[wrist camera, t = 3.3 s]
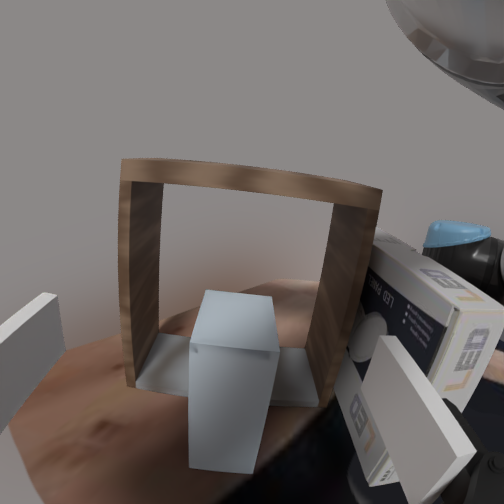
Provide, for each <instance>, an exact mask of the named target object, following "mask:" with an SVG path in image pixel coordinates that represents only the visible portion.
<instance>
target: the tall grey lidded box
mask: <svg viewBox="0 0 504 504" xmlns="http://www.w3.org/2000/svg"><path fill="white" fill-rule="evenodd" d="M279 355H280V348H279V341H278V334H277V328H276V321H275V315H274V308H273V302H272V297H271V296H261V295H251V294H242V293H233V292H224V291H216V290H207V289H206V291H205V294H204V298H203V301H202V304H201V307H200V310H199V313H198V317H197V320H196V323H195V326H194V330H193V333H192V336H191V339H190V347H189V395H188V436H189V468H195V469H202V470H210V471H220V472H230V473H244V474H253V471H254V467H255V463H256V458H257V454H258V450H259V446H260V442H261V438H262V433H263V429H264V425H265V420H266V416H267V411H268V407H269V402H270V398H271V393H272V389H273V384H274V379H275V374H276V370H277V365H278V360H279Z"/></svg>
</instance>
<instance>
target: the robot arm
mask: <svg viewBox="0 0 504 504" xmlns="http://www.w3.org/2000/svg"><path fill="white" fill-rule="evenodd" d="M386 3H387V6H388V8H389V10H390V12H391V15H392V16H393V18H394V20H395V21H396V23H397V25H398V26H399V28H400V29H401V30H402V31H403V33H404V34H405V35H406V36H407V38H408V39H409V40H410V41H411V42H412V43H413V44H414V45H415V47H416V48H417V49H418V50H419V51H420V52H421V53H422V54H423V55H424V56H425V57H426V58H427V59H429V60H430V61H431V62H432V63H433V64H435V65H436V66H437V67H438V68H439V69H440V70H442V71H443V72H444V73H445V74H447V75H448V76H450V77H451V78H453V79H454V80H456V81H457V82H459V83H460V84H461V85H463V86H465V87H466V88H468V89H470V90H471V91H473V92H474V93H476V94H478V95H480V96H481V97H483V98H485V99H486V100H487V101H489V102H490V103H492V104H494V105H496V106H498V107H500V108H502V109H503V110H504V0H386ZM490 236H491V230H490V228H489V227H486V226H481V225H477V224H472V223H465V222H457V221H448V220H438V221H435V222H433V223H432V224H431V225H430V226H429V229H428V233H427V237H426V240H425V243H424V244H423V247H424V249H423V253H422V255H423V256H426V257H429V258H431V259H433V260H434V261H436V262H437V263H439V264H441V265H442V266H444V267H445V268H447V269H449V270H450V271H452V272H453V273H455V274H456V275H458V276H459V277H461V278H463V279H464V280H466V281H467V282H469V283H470V284H472V285H473V286H475V287H476V288H478V289H479V290H481V291H482V292H484V293H485V294H487V295H488V296H490V297H491V298H492V299H494V300H495V301H497V302H498V303H500V304H501V305H503V306H504V241H503V240H500V239H496V238H493V237H490ZM65 351H66V349H65V344H64V337H63V332H62V325H61V318H60V312H59V303H58V295H54V294H50V293H46V292H43V293H42V294H40V295H39V296H38V297H36V298H35V299H34V300H32V301H31V302H30V303H28V304H27V305H26V306H25V307H23V308H22V309H21V310H19V311H18V312H17V313H16V314H14V315H13V316H12V317H11V318H9V319H8V320H7V321H5V322H4V323H3V324H2V325H1V326H0V434H1V433H2V431H3V430H4V429H5V427H6V426H7V425H8V423H9V422H10V420H11V419H12V418H13V416H14V415H15V414H16V412H17V411H18V410H19V409H20V407H21V406H22V405H23V403H24V402H25V401H26V399H27V398H28V397H29V396H30V394H31V393H32V392H33V390H34V389H35V388H36V387H37V385H38V384H39V383H40V382H41V380H42V379H43V378H44V377H45V375H46V374H47V373H48V372H49V370H50V369H51V368H52V367H53V366H54V364H55V363H56V362H57V361H58V360H59V358H60V357H61V356H62V355H63V354H64V352H65ZM361 391H362V393H363V395H364V397H365V400H366V402H367V404H368V406H369V409H370V411H371V413H372V416H373V418H374V420H375V423H376V425H377V427H378V429H379V432H380V434H381V437H382V439H383V441H384V444H385V446H386V448H387V451H388V453H389V456H390V458H391V460H392V463H393V465H394V468H395V470H396V473H397V475H398V477H399V480H400V482H401V485H402V487H403V490H404V492H405V495H406V497H407V500H408V503H409V504H432V503H433V502H434V501H435V500H436V499H437V498H438V497H439V496H440V495H441V497H442V499H443V502H442V503H441V504H504V454H502V453H499V452H494V451H492V452H488V451H487V450H486V448H485V447H484V445H483V444H482V442H481V441H480V439H479V438H478V436H477V435H476V433H475V432H474V430H473V429H472V427H471V426H470V425H468V422H467V420H466V419H465V418H463V415H462V413H461V412H460V410H459V409H458V408H457V406H456V405H454V404H453V403H452V402H451V401H449V400H448V399H447V398H442V399H441V397H440V396H439V394H438V393H437V392H436V390H435V389H434V387H433V386H432V385H431V383H430V382H429V380H428V379H427V378H426V376H425V375H424V373H423V372H422V371H421V369H420V368H419V367H418V365H417V364H416V362H415V361H414V360H413V358H412V357H411V356H410V354H409V353H408V352H407V350H406V349H405V348H404V346H403V345H402V344H401V342H400V341H399V340H398V338H397V337H396V336H384V335H379V338H378V341H377V344H376V347H375V350H374V353H373V356H372V359H371V362H370V364H369V367H368V370H367V372H366V375H365V378H364V380H363V383H362V385H361Z"/></svg>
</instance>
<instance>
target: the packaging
mask: <svg viewBox="0 0 504 504" xmlns="http://www.w3.org/2000/svg"><path fill="white" fill-rule="evenodd" d="M503 328H504V306H503V305H501V304H500V303H498V302H497V301H495V300H494V299H492V298H491V297H490V296H488V295H487V294H485V293H484V292H482V291H481V290H479V289H478V288H476V287H475V286H473V285H472V284H470V283H469V282H467V281H466V280H464V279H463V278H461V277H459V276H458V275H456V274H455V273H453V272H452V271H450V270H449V269H447V268H445V267H444V266H442V265H441V264H439V263H437V262H436V261H434V260H433V259H431V258H429V257H426V256H423V255H421V254H420V253H418V252H416V249H414V248H413V247H411V246H409V245H408V244H406V243H404V242H402V241H401V240H399V239H397V238H395V237H394V236H392V235H390V234H389V233H387V232H385V231H383V230H382V229H380V228H378V227H376V230H375V235H374V240H373V245H372V250H371V254H370V259H369V263H368V268H367V272H366V276H365V281H364V285H363V289H362V293H361V297H360V301H359V304H358V308H357V312H356V316H355V319H354V323H353V326H352V330H351V333H350V337H349V340H348V344H347V347H346V350H345V354H344V357H343V360H342V363H341V366H340V369H339V372H338V375H337V378H336V381H335V384H334V387H333V388H334V391H335V394H336V397H337V399H338V402H339V405H340V407H341V410H342V413H343V416H344V419H345V421H346V424H347V427H348V430H349V432H350V435H351V438H352V441H353V444H354V447H355V449H356V452H357V455H358V458H359V461H360V464H361V467H362V469H363V472H364V475H365V478H366V480H367V482H368V483H369V486H370V487H371V486H377V485H383V484H388V483H393V482H398V481H400V480H399V477H398V475H397V473H396V470H395V468H394V465H393V463H392V460H391V458H390V456H389V453H388V451H387V448H386V446H385V444H384V441H383V439H382V437H381V434H380V432H379V429H378V427H377V425H376V423H375V420H374V418H373V416H372V413H371V411H370V409H369V406H368V404H367V402H366V400H365V397H364V395H363V393H362V391H361V385H362V383H363V380H364V378H365V375H366V372H367V370H368V367H369V364H370V362H371V359H372V356H373V353H374V350H375V347H376V344H377V341H378V338H379V335H384V336H396V337H397V338H398V340H399V341H400V342H401V344H402V345H403V346H404V348H405V349H406V350H407V352H408V353H409V354H410V356H411V357H412V358H413V360H414V361H415V362H416V364H417V365H418V367H419V368H420V369H421V371H422V372H423V373H424V375H425V376H426V378H427V379H428V380H429V382H430V383H431V385H432V386H433V387H434V389H435V390H436V392H437V393H438V394H439V396H440V397H441V399H442V398H447V399H448V400H449V401H451V402H452V403H453V404H454V405H456V406H457V408H458V409H459V410H460V412H461V413H462V411H463V410H464V408H465V406H466V404H467V403H468V401H469V399H470V397H471V396H472V394H473V392H474V390H475V388H476V386H477V385H478V383H479V381H480V379H481V377H482V375H483V373H484V371H485V369H486V367H487V365H488V363H489V360H490V358H491V356H492V354H493V352H494V350H495V347H496V345H497V343H498V340H499V338H500V335H501V333H502V331H503Z"/></svg>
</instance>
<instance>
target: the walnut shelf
mask: <svg viewBox="0 0 504 504" xmlns="http://www.w3.org/2000/svg"><path fill="white" fill-rule="evenodd" d="M164 183H168V184H180V185H190V186H202V187H211V188H221V189H231V190H239V191H248V192H256V193H265V194H273V195H280V196H288V197H296V198H302V199H309V200H316V201H323V202H330V203H334V207H333V213H332V219H331V225H330V231H329V236H328V242H327V247H326V252H325V258H324V263H323V268H322V274H321V278H320V283H319V288H318V293H317V298H316V302H315V307H314V312H313V316H312V321H311V325H310V329H309V334H308V338H307V342H306V346H305V348H289V347H279V348H280V355H279V360H278V365H277V370H276V374H275V379H274V384H273V389H272V393H271V398H270V402H269V405H270V406H292V407H327V404H328V402H329V399H330V396H331V393H332V390H333V387H334V384H335V381H336V378H337V375H338V372H339V369H340V366H341V363H342V360H343V357H344V354H345V350H346V347H347V344H348V340H349V337H350V333H351V330H352V326H353V323H354V319H355V316H356V312H357V308H358V304H359V301H360V297H361V293H362V289H363V285H364V281H365V276H366V272H367V268H368V263H369V259H370V254H371V250H372V245H373V240H374V235H375V230H376V225H377V220H378V214H379V209H380V203H381V197H382V191H383V190H381V189H377V188H373V187H370V186H366V185H362V184H358V183H354V182H350V181H346V180H341V179H335V178H328V177H323V176H317V175H310V174H304V173H297V172H290V171H282V170H276V169H268V168H260V167H251V166H243V165H234V164H223V163H213V162H202V161H191V160H178V159H163V158H138V159H137V158H136V159H122V161H121V175H120V191H119V214H118V282H119V303H120V304H119V305H120V322H121V335H122V346H123V356H124V365H125V374H126V382H127V386H129V387H134V388H139V389H144V390H149V391H154V392H160V393H165V394H171V395H178V396H184V397H188V395H189V347H190V339H191V337H185V336H178V335H171V334H165V333H159V256H160V255H159V254H160V231H161V214H162V199H163V185H164Z"/></svg>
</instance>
